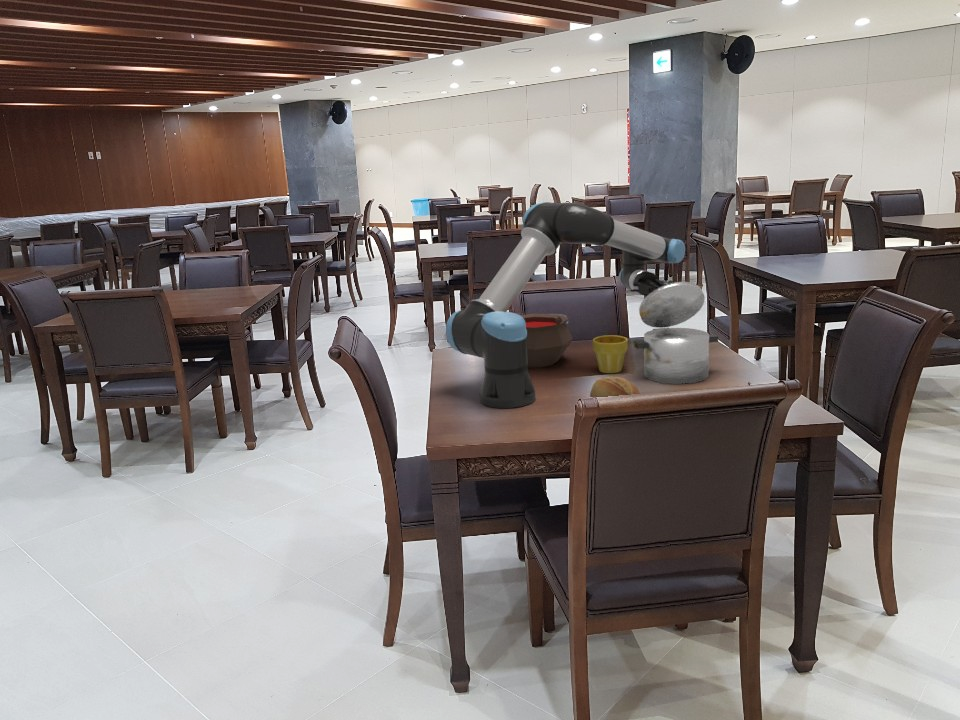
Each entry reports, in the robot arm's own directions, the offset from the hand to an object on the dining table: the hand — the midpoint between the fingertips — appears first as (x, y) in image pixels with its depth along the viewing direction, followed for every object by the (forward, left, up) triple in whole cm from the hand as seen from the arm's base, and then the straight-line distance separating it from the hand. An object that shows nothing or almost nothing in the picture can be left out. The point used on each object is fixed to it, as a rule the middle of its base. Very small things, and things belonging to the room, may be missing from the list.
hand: (673, 294), depth 212 cm
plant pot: (-18, +4, -23) cm, 29 cm away
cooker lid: (-2, -4, -3) cm, 5 cm away
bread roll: (-28, -29, -23) cm, 46 cm away
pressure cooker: (-2, -5, -23) cm, 23 cm away
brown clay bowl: (-37, +22, -23) cm, 49 cm away
